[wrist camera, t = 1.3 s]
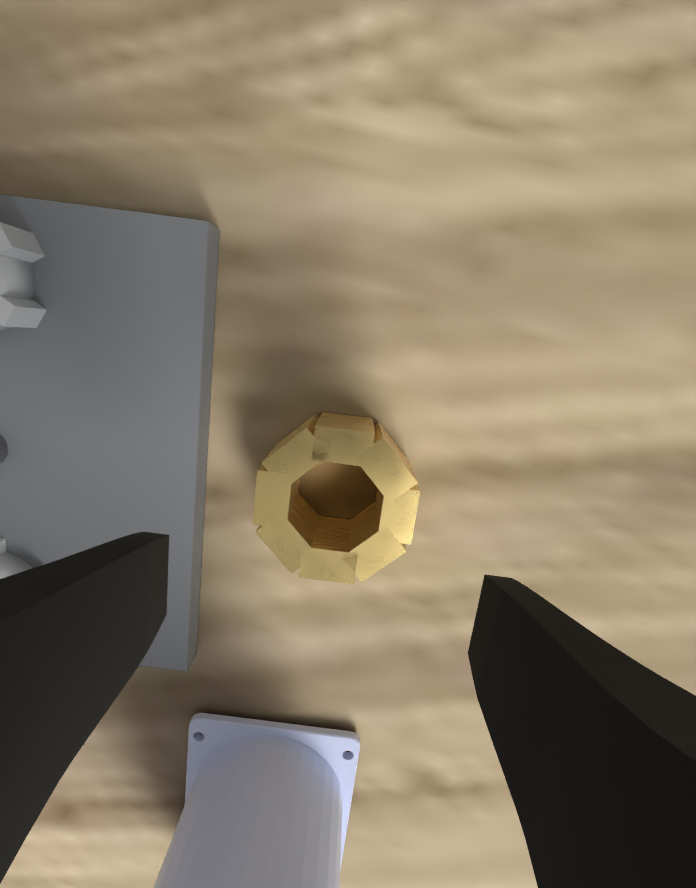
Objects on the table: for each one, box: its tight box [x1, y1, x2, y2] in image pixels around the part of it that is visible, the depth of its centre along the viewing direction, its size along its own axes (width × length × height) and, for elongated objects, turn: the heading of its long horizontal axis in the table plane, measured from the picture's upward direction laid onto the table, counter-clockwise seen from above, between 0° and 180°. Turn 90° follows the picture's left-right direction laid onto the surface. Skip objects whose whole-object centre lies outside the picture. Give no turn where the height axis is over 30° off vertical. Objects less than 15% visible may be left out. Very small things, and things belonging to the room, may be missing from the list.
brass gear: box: [253, 412, 420, 584], centre depth 17 cm, size 6×6×3 cm
